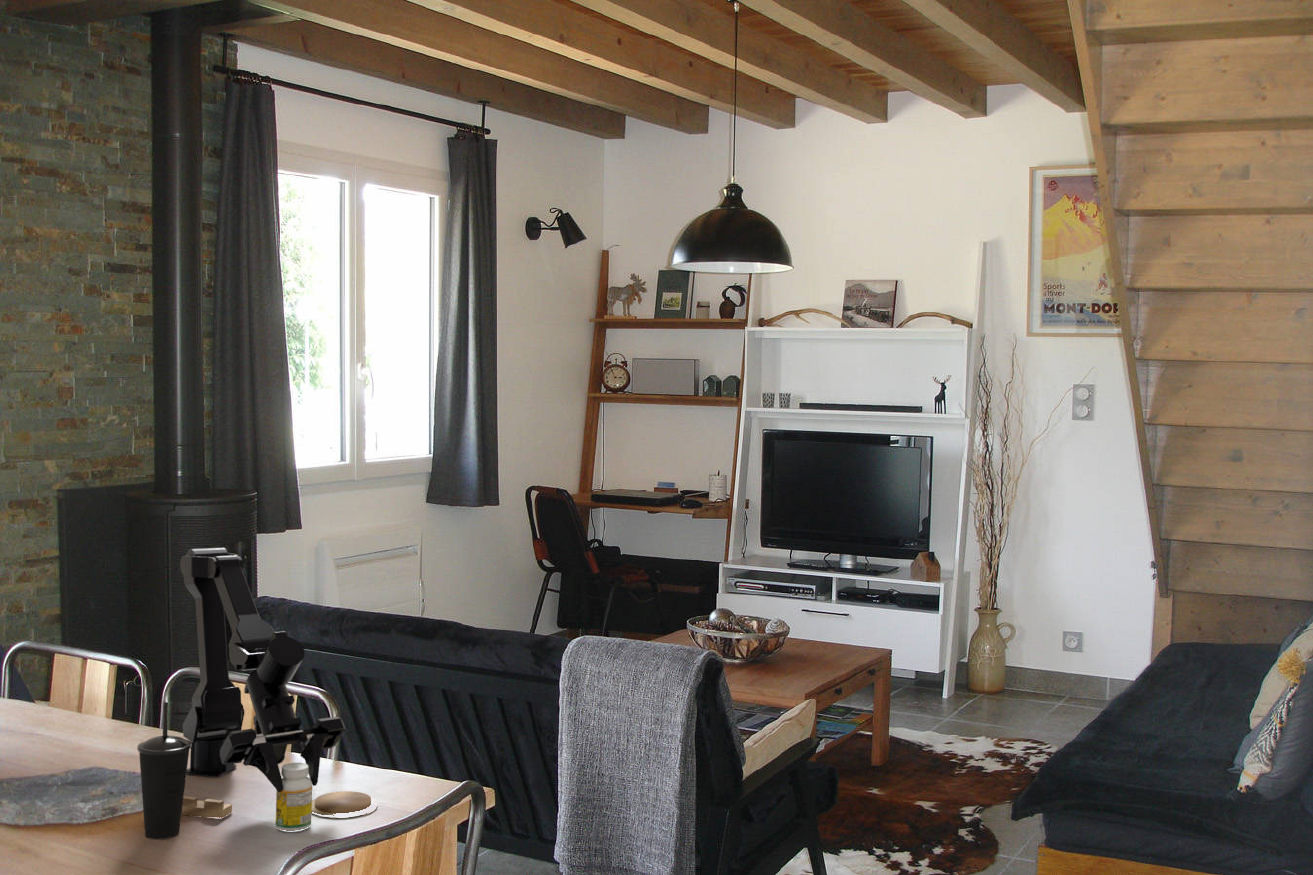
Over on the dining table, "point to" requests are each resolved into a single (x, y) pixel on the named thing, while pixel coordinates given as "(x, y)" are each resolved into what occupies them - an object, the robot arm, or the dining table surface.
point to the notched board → (205, 807)
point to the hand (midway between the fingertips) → (298, 787)
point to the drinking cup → (163, 781)
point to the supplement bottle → (294, 798)
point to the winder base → (340, 802)
